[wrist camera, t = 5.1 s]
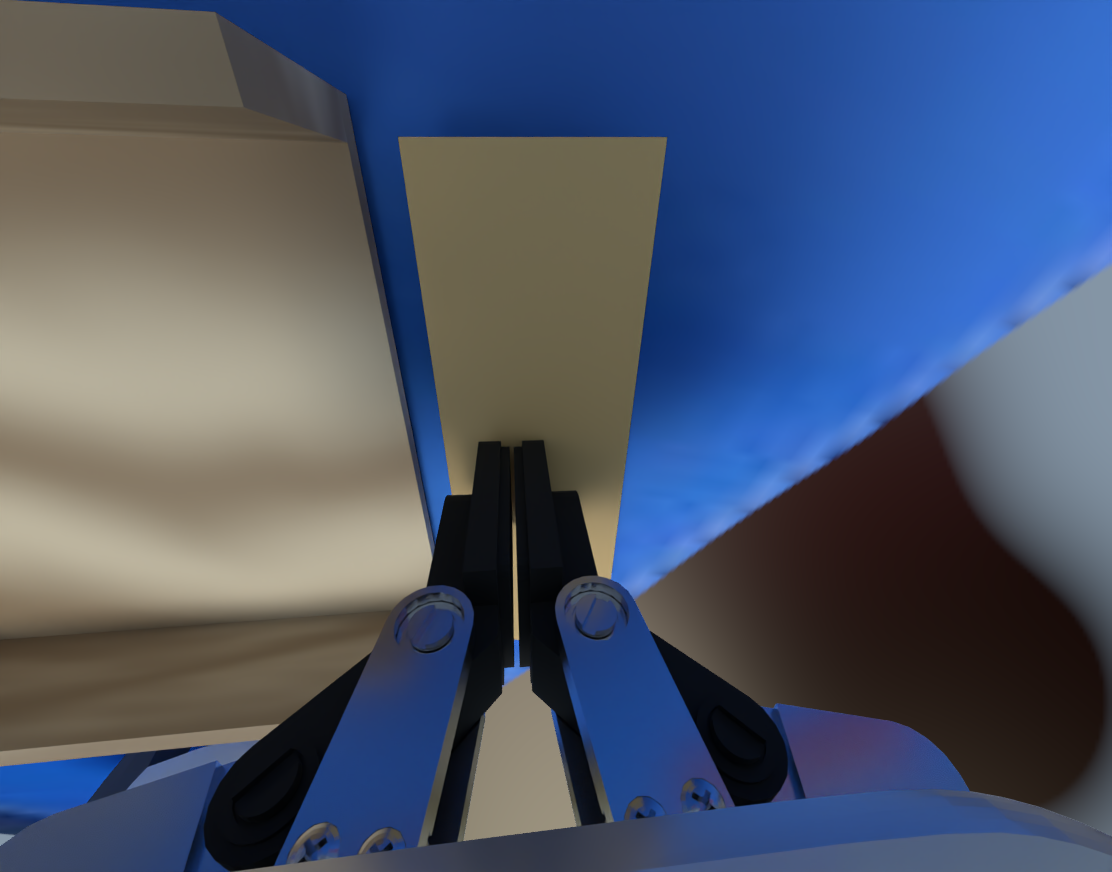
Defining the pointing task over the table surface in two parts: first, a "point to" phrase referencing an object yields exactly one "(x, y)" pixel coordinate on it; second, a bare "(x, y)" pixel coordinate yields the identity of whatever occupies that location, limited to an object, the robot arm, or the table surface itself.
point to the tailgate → (537, 302)
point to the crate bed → (187, 388)
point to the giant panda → (165, 765)
